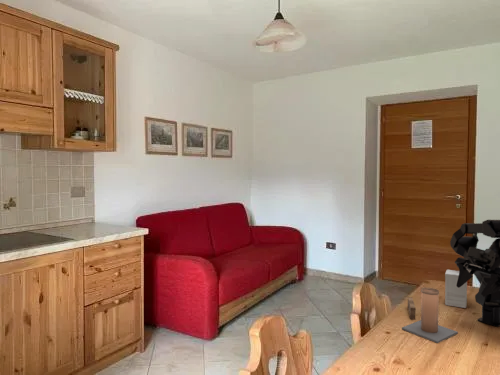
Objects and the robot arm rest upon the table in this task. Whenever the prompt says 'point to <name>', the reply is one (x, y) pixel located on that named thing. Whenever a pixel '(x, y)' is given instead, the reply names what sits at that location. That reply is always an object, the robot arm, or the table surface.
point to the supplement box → (454, 290)
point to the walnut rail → (411, 308)
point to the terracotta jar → (429, 309)
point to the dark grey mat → (435, 337)
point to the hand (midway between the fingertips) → (469, 291)
